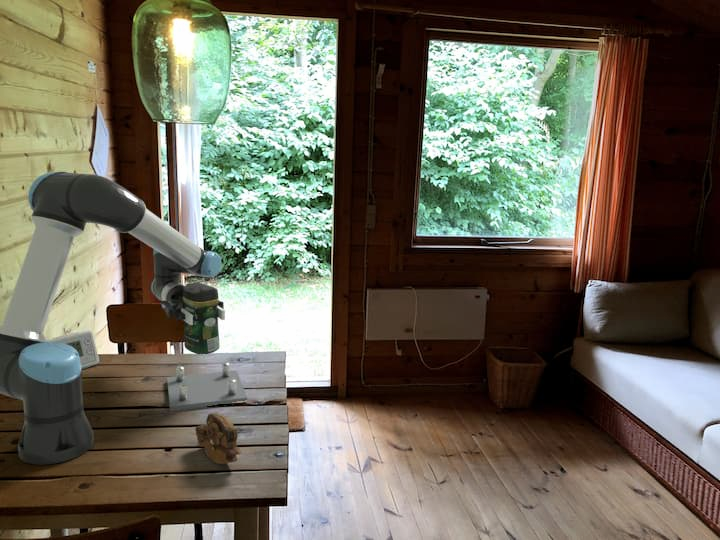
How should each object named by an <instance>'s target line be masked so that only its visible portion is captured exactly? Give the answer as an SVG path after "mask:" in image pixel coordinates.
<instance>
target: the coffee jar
mask: <svg viewBox="0 0 720 540" xmlns="http://www.w3.org/2000/svg"><path fill="white" fill-rule="evenodd" d="M184 286H185V287H184V288H183V302H184V309H185V310H187V311H188V312H189V313H191V314H192V315H193V325H189V324H188V323H186V322H185V321H184V337H183V338H184V339H183V341H184V342H183V345H184V348H185V349H186V350H187V351H189V352H191V353H193V354H195V355H210V354H212V353H213V354H214V353H215V352H216V351H218V350H219V349H220V336H219V335H220V334H219V332H220V331H219V318H218V314H217V306H218V300H219V290H218V288H216V287H215V286H211V285H208V284H205V283H203V282H201V281H195V282H190V283H187V284H185V285H184ZM219 301H220V300H219Z"/></svg>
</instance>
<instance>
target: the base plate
mask: <svg viewBox="0 0 720 540" xmlns="http://www.w3.org/2000/svg"><path fill="white" fill-rule="evenodd" d="M221 365H222V366H221V367H222V369H221V370H222V371H217V372H207V373H197V374H185V366H183V365H179V366H176V367H175V376H167V377H166V378H167V379H166V380H167V383H166V385H167V393H168V402H169V411H170V412H177V411H178V412H180V411H188V409H189V410H195V409H196V408H198V409H202V408H201V407H206V408H208V407H207V406H212V405H218V404H225V403H232V402H237V401H245V400H247V401H248V396H247V394H246V391H245V388H244V386H243V383H242V381H241V379H240V375H239V373H238V371H237V370H231V362H229V361H224V362H222V364H221Z"/></svg>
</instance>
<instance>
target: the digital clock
mask: <svg viewBox="0 0 720 540" xmlns="http://www.w3.org/2000/svg"><path fill="white" fill-rule="evenodd" d="M46 340H47V341H48V342H50V343H55V342H57V343H63V344H67V345H69V346H72V347H73V348H74V349H76V350H77V352H78V354H79V358H80V363H81V366H82V368H81V371H82V370H85V369H89V368H90V367H94V366H97V365H98V364H99V363H100V357H99V354H98V349H97V346H96V342H95V338H94V334H93V331H92V330H90V329H88V330H84V331H80V332H73V333H68V334H66V335H60V336H57V337H52V338H50V339H46Z"/></svg>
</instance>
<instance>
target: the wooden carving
mask: <svg viewBox="0 0 720 540" xmlns="http://www.w3.org/2000/svg"><path fill="white" fill-rule="evenodd" d="M205 422H206V423H205V424H204V423H203V424H201V425H197V426H195V428H194V429H195V436H196V440H197V444H198V445H199V446H200V447H201V448H204V452H205V454H206V455H207V457H208V459H210V460H211V461H213V462H214V463H216V464H217V465H218V464H219V465H225V464H229V463H235V462H238V457H237V455H241V454H242V450H241V448H239V446H237V445H238V444H237V440H238V436H239V435H238V434H239V433H238V428H237V427H235V425H234V424H233V423H232V421H231V420H230V419H229V418H228V416H226V415H224V414H218V413H217V412H213V413H212V412H211V413H209V414H207V418H206V421H205Z"/></svg>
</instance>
